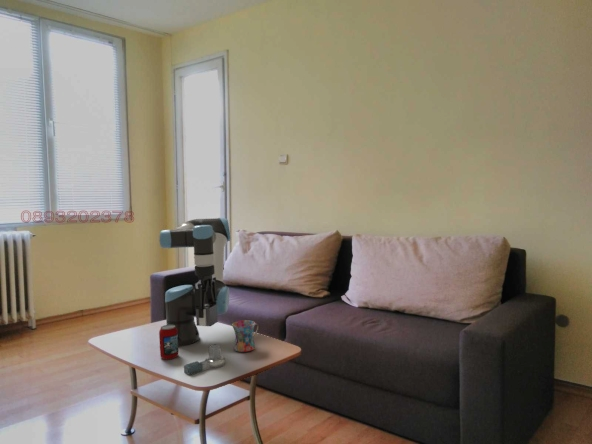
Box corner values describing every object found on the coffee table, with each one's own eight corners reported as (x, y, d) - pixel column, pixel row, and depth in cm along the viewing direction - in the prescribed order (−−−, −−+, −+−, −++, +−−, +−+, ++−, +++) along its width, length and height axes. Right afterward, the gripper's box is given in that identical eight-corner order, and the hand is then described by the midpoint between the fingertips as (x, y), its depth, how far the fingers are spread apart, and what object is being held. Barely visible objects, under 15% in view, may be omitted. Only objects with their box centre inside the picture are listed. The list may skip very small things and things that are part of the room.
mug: (242, 355, 172) (241, 328, 172) (228, 350, 179) (227, 324, 178) (266, 347, 181) (265, 321, 180) (251, 342, 187) (250, 317, 187)
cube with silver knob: (196, 325, 174) (195, 306, 174) (204, 321, 180) (203, 302, 179) (210, 326, 172) (209, 307, 172) (217, 321, 178) (216, 303, 178)
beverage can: (168, 361, 168) (167, 330, 168) (156, 358, 172) (155, 327, 171) (182, 355, 174) (180, 325, 173) (170, 353, 178) (168, 323, 177)
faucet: (182, 371, 158) (181, 351, 158) (218, 359, 169) (217, 340, 168) (191, 376, 153) (190, 356, 153) (228, 364, 163) (227, 345, 163)
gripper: (207, 260, 185) (210, 315, 186) (182, 269, 167) (185, 329, 168) (224, 261, 182) (226, 316, 184) (200, 269, 164) (203, 331, 166)
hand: (207, 322), depth 176 cm, fingers closed on cube with silver knob, 6 cm apart
